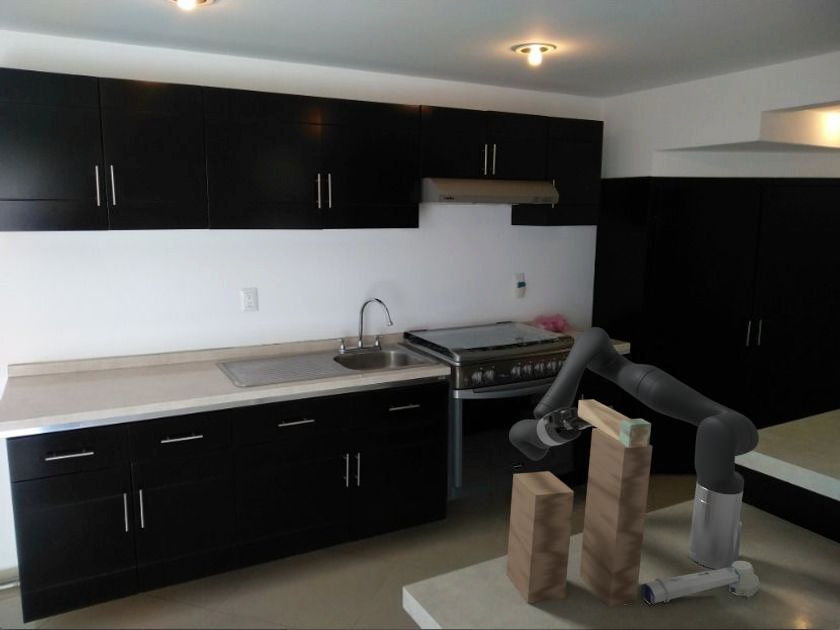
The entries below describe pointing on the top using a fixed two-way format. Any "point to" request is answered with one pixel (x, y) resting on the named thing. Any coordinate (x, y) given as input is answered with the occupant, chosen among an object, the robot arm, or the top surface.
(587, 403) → the oak rail
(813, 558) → the top surface
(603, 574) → the walnut post
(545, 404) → the robot arm
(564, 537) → the low walnut block
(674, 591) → the white tube with head
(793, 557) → the top surface
